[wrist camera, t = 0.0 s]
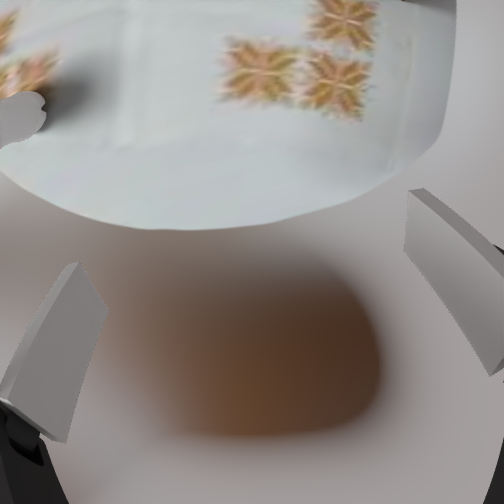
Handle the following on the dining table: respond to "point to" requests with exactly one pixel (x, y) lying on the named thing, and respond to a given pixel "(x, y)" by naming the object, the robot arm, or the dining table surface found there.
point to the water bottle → (20, 116)
